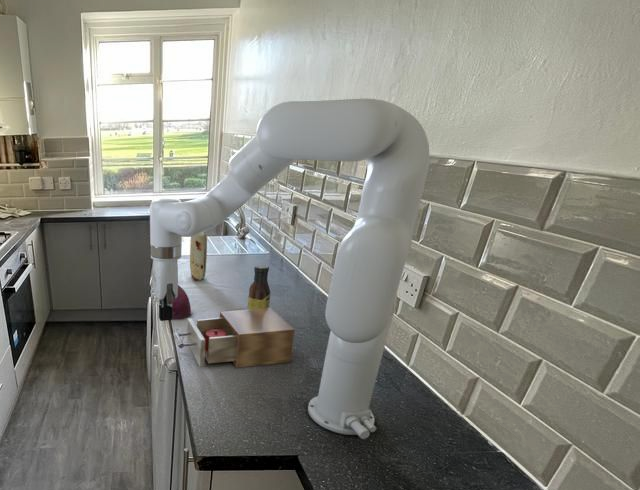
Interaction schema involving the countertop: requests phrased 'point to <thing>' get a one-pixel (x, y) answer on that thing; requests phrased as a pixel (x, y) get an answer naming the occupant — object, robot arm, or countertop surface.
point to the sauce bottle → (259, 289)
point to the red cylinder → (213, 335)
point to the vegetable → (181, 305)
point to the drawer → (218, 346)
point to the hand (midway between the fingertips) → (165, 319)
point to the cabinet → (260, 336)
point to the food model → (198, 256)
